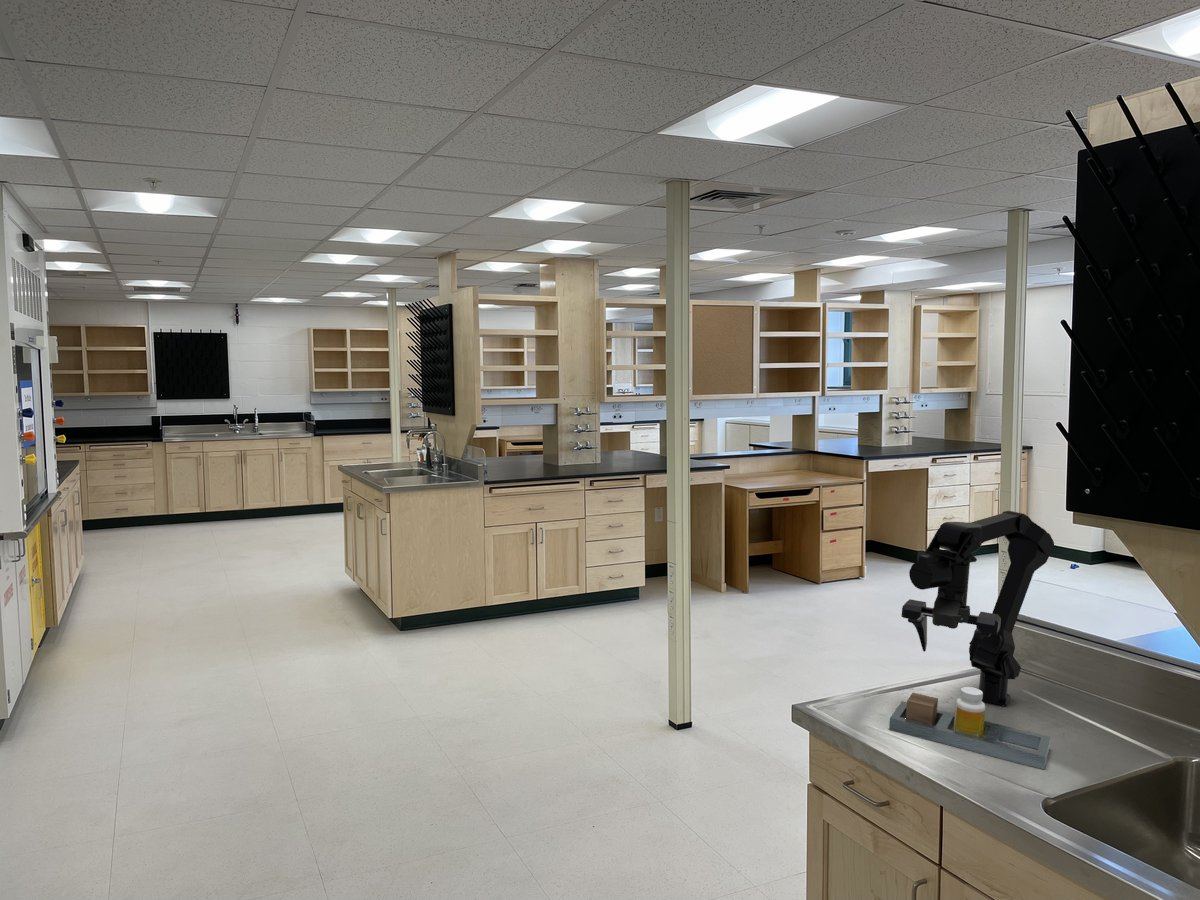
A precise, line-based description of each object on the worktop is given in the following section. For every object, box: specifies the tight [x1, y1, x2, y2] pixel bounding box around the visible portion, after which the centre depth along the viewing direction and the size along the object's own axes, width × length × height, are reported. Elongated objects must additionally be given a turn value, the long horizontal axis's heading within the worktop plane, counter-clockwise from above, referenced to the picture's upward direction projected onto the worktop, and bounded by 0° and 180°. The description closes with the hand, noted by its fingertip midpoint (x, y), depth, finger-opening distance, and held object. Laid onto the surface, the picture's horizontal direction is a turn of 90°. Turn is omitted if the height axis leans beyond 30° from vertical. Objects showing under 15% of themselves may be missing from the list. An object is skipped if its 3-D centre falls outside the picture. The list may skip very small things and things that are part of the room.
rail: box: [888, 700, 1052, 770], centre depth 170 cm, size 10×28×2 cm, turn 58°
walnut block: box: [906, 692, 939, 726], centre depth 175 cm, size 5×5×6 cm
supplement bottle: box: [953, 686, 986, 738], centre depth 170 cm, size 5×5×10 cm
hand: (947, 655), depth 181 cm, fingers open, 9 cm apart
